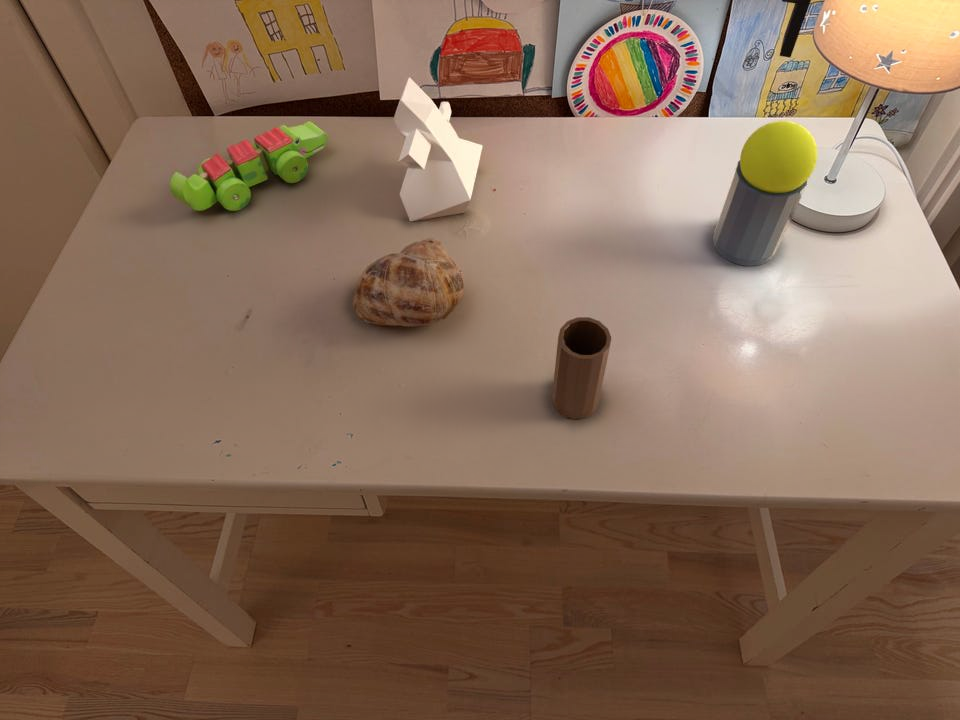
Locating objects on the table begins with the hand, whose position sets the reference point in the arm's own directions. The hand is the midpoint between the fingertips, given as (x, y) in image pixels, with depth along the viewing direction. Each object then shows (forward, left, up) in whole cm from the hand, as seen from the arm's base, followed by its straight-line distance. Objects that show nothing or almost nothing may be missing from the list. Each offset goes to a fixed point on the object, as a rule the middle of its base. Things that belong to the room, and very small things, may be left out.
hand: (888, 64), depth 49 cm
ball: (+10, -5, -17) cm, 20 cm away
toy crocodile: (+44, +42, -29) cm, 68 cm away
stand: (0, +22, -29) cm, 36 cm away
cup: (+10, -5, -29) cm, 31 cm away
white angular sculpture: (+33, +22, -29) cm, 49 cm away
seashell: (+18, +32, -29) cm, 47 cm away
